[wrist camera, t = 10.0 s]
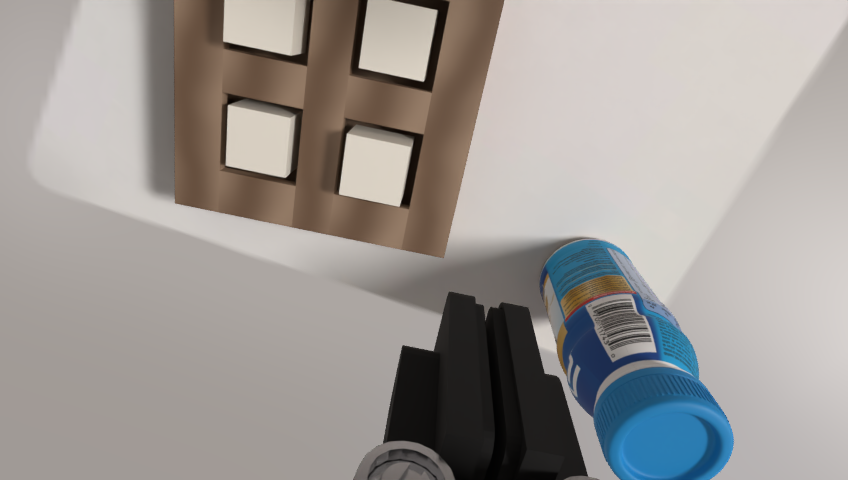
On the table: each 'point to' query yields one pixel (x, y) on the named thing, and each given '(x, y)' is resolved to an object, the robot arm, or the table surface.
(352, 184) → the button
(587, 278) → the beverage bottle
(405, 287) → the table surface
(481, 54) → the board
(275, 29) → the button
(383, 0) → the button
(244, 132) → the button
